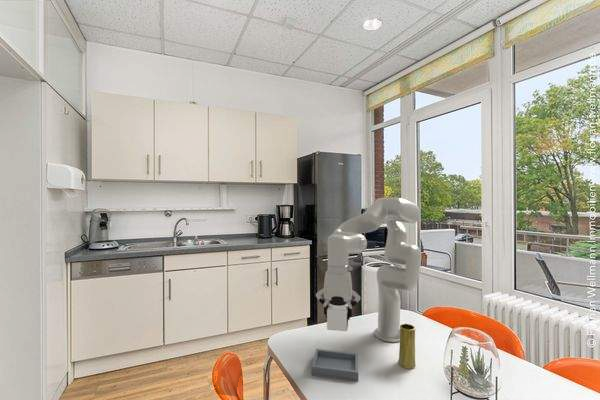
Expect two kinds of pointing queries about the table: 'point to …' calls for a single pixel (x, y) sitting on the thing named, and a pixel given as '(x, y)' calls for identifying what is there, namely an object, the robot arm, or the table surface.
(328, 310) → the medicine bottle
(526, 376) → the table surface
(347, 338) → the table surface
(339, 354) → the tray
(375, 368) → the table surface
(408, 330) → the vase
